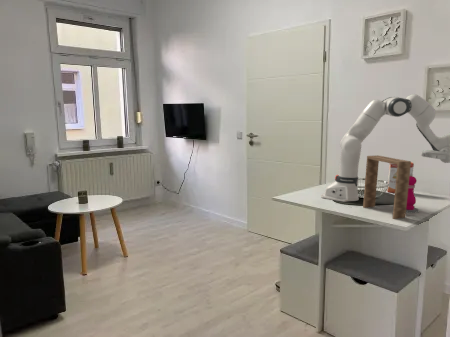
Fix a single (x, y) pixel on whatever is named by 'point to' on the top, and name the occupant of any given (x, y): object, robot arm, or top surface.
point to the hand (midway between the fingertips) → (429, 155)
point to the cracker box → (394, 176)
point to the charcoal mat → (412, 210)
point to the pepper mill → (411, 193)
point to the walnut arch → (400, 187)
